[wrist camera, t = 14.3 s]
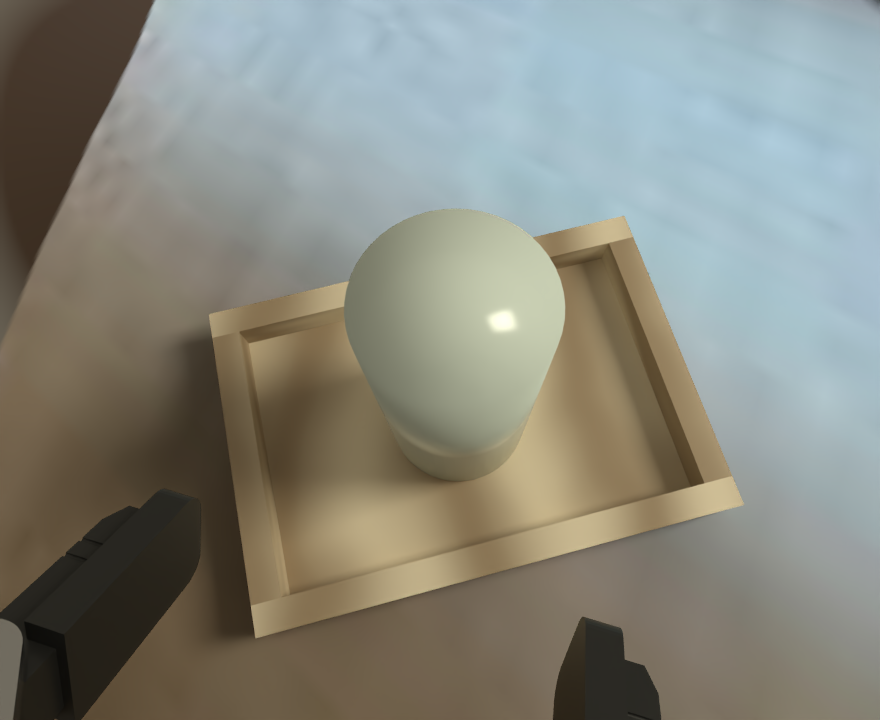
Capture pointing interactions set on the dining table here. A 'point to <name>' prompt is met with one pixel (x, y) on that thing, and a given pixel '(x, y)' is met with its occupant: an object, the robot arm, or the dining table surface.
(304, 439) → the tray
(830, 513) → the dining table surface
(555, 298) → the sage domed cylinder
